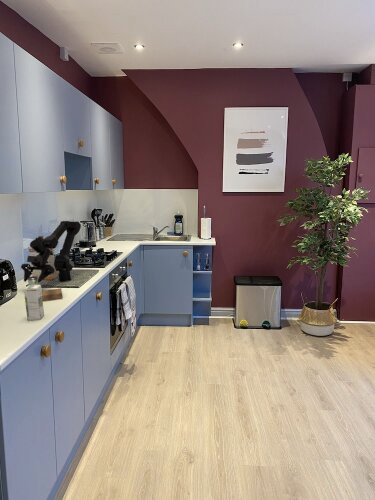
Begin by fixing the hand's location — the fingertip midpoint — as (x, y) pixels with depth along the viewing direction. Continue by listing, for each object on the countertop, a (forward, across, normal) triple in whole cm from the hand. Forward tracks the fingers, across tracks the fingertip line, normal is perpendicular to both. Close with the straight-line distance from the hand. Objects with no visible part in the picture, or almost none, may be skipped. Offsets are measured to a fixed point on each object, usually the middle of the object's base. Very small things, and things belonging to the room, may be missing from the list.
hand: (31, 281), depth 205 cm
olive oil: (-25, -26, +34) cm, 50 cm away
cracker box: (-16, -16, +26) cm, 34 cm away
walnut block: (+7, +15, +3) cm, 17 cm away
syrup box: (+26, +28, -16) cm, 42 cm away
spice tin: (+4, 0, +6) cm, 7 cm away
